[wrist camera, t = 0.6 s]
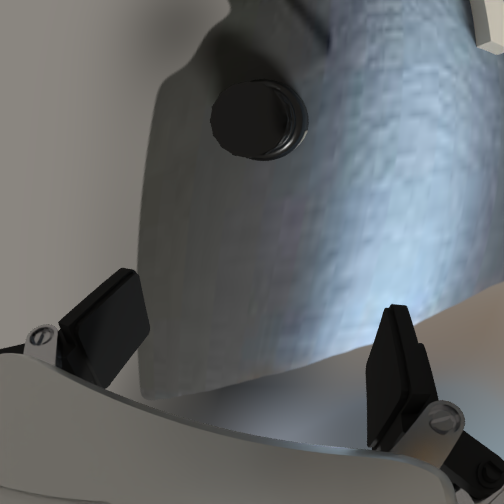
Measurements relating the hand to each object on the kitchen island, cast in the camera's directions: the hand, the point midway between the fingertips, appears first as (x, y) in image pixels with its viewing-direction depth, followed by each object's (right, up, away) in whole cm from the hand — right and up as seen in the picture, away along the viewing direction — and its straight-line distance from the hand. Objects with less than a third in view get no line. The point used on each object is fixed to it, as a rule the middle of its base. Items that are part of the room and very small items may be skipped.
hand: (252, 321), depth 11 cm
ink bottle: (+3, +19, +23) cm, 30 cm away
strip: (+31, +34, +9) cm, 47 cm away
